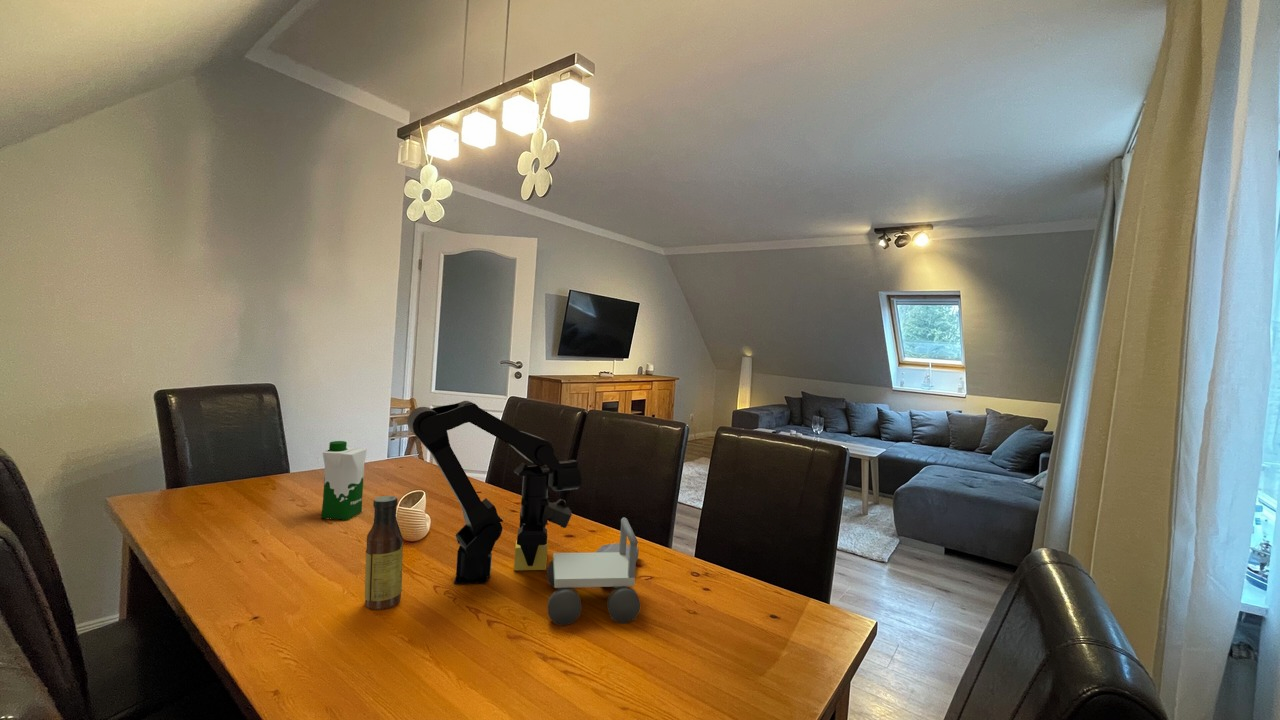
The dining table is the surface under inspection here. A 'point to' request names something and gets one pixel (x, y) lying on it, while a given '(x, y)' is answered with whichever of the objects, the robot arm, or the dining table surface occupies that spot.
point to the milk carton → (343, 481)
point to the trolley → (595, 580)
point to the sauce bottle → (384, 556)
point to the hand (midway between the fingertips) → (530, 561)
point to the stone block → (616, 549)
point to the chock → (538, 562)
